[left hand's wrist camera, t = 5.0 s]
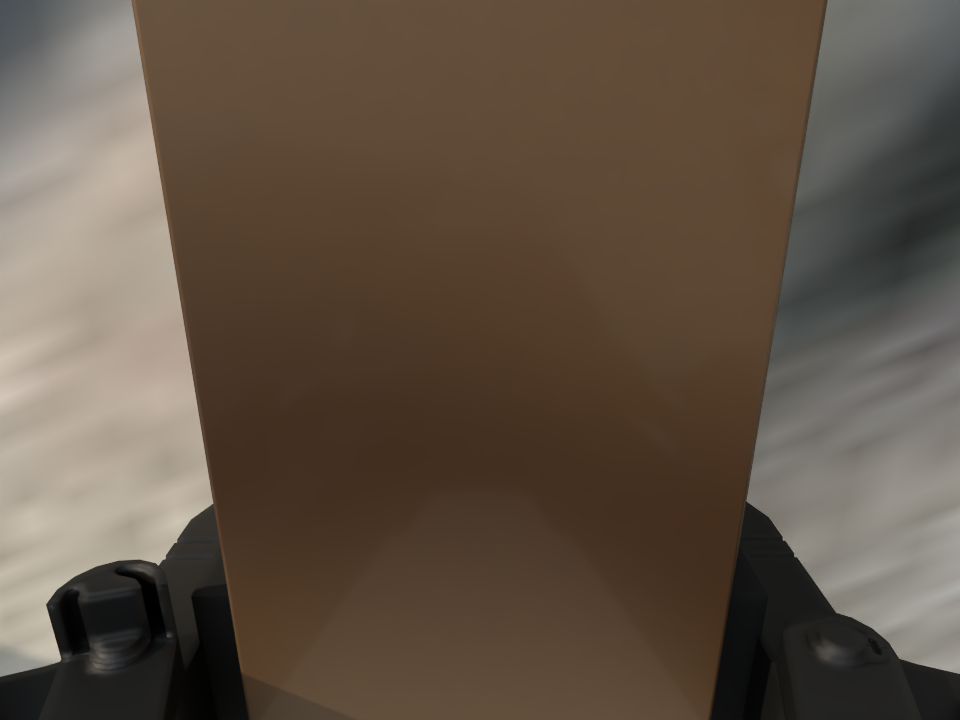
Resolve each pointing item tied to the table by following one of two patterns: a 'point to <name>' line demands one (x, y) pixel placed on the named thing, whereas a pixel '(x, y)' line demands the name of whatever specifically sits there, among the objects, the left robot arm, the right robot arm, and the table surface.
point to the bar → (479, 335)
